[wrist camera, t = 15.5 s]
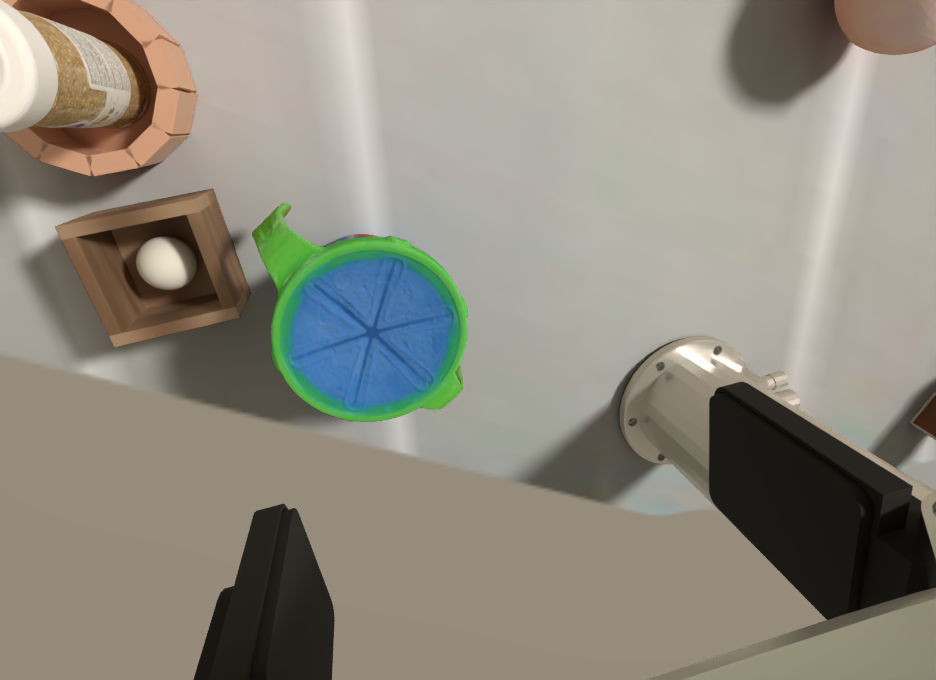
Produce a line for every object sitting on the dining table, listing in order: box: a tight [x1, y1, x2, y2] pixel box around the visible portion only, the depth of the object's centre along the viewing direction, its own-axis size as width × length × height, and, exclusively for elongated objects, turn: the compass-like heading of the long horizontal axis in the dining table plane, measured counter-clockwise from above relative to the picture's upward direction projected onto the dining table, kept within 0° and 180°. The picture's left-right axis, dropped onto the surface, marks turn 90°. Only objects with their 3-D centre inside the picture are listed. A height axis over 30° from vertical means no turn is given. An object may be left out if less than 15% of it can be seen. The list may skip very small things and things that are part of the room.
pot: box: [2, 0, 197, 176], centre depth 28 cm, size 9×9×4 cm
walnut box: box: [55, 189, 251, 347], centre depth 31 cm, size 7×7×5 cm
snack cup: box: [252, 203, 468, 422], centre depth 33 cm, size 16×10×10 cm
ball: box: [136, 236, 197, 290], centre depth 32 cm, size 3×3×3 cm
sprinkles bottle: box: [0, 0, 151, 133], centre depth 23 cm, size 5×5×14 cm
